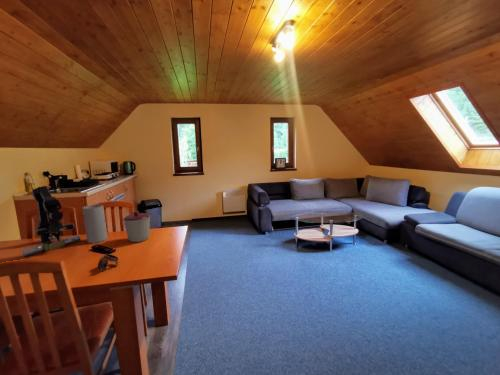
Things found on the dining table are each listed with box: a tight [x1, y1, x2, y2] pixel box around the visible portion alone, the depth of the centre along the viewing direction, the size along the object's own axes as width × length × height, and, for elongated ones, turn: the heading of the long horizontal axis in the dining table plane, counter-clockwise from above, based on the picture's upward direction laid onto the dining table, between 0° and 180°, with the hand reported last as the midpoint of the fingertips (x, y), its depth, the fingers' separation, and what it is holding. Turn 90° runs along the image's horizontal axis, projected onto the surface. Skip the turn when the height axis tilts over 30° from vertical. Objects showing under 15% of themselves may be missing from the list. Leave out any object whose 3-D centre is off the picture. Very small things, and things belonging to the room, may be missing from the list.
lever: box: [49, 235, 58, 244], centre depth 165 cm, size 14×4×1 cm, turn 46°
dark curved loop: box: [96, 253, 119, 272], centre depth 136 cm, size 12×10×8 cm
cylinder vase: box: [82, 204, 108, 244], centre depth 180 cm, size 12×12×25 cm
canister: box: [122, 210, 151, 243], centre depth 178 cm, size 18×18×21 cm
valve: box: [21, 234, 81, 258], centre depth 170 cm, size 7×31×6 cm, turn 145°
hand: (58, 241), depth 164 cm, fingers closed
